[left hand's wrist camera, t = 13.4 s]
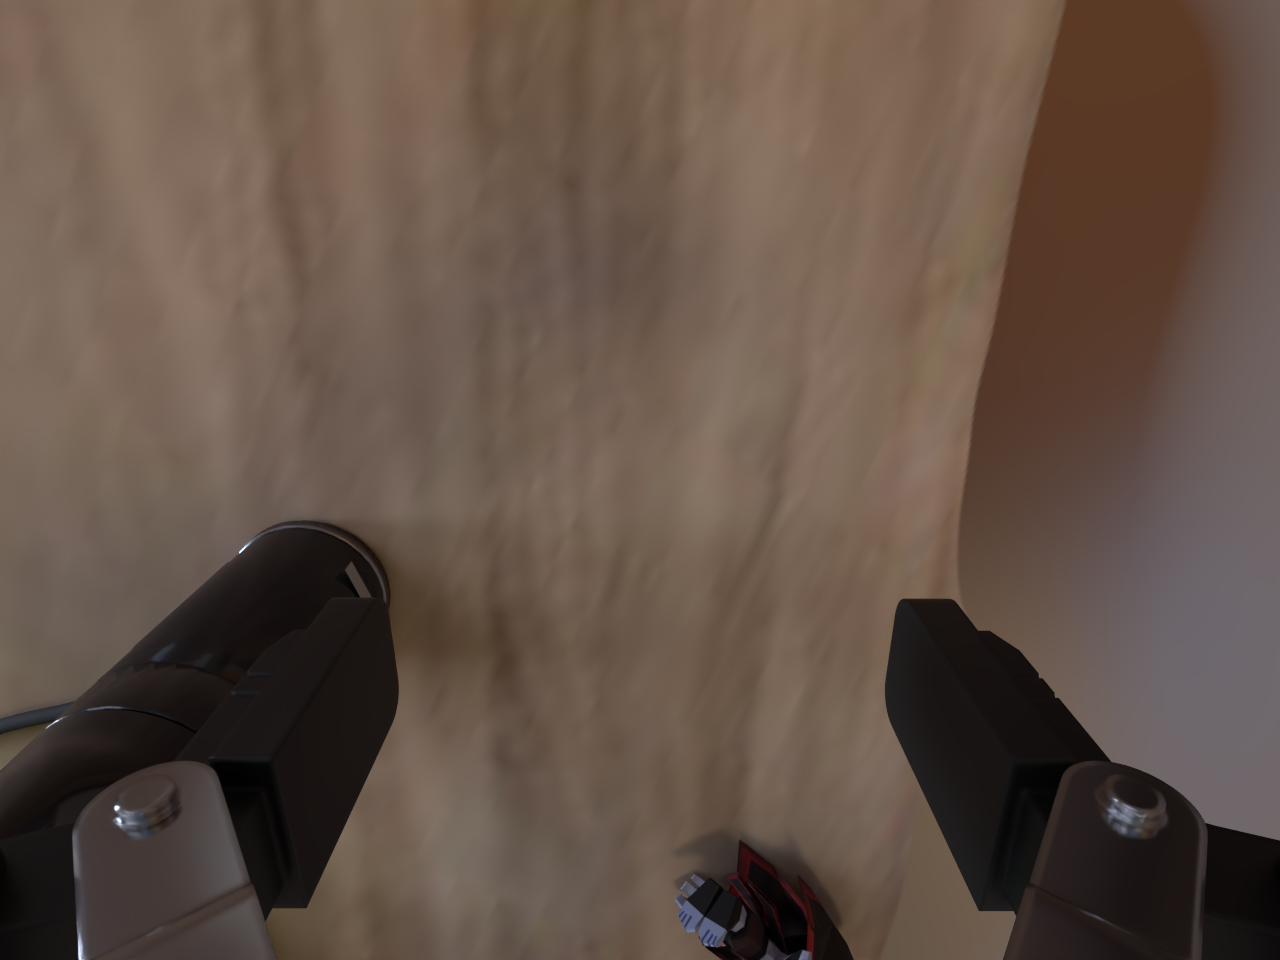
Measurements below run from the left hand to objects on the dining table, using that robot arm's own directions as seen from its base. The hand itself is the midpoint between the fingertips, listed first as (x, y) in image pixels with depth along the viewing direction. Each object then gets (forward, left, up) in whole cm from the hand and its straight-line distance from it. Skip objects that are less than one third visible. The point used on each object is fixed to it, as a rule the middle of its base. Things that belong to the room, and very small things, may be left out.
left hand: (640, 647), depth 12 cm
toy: (-2, -44, -31) cm, 53 cm away
